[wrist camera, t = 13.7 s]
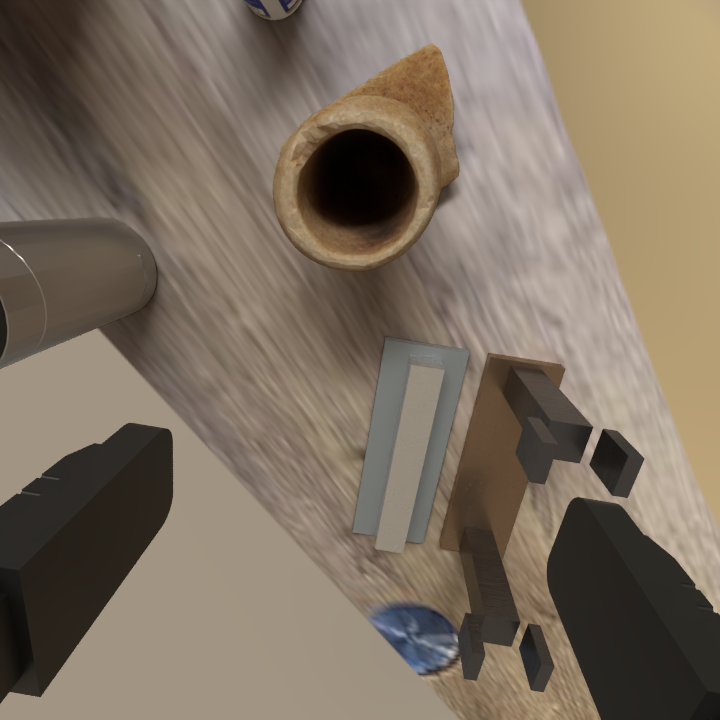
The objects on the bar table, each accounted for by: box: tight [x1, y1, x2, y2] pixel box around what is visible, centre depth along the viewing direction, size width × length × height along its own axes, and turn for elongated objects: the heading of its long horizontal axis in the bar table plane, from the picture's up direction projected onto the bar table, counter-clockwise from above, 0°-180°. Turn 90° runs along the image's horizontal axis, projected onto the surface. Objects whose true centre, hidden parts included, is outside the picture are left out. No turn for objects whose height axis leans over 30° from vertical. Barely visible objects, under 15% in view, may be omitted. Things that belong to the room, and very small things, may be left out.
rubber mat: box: [352, 337, 469, 544], centre depth 45 cm, size 8×23×1 cm, turn 172°
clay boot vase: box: [273, 44, 459, 271], centre depth 30 cm, size 15×12×15 cm
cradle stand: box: [439, 353, 644, 692], centre depth 38 cm, size 7×23×16 cm, turn 172°
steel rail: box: [375, 354, 445, 554], centre depth 44 cm, size 3×21×3 cm, turn 172°
